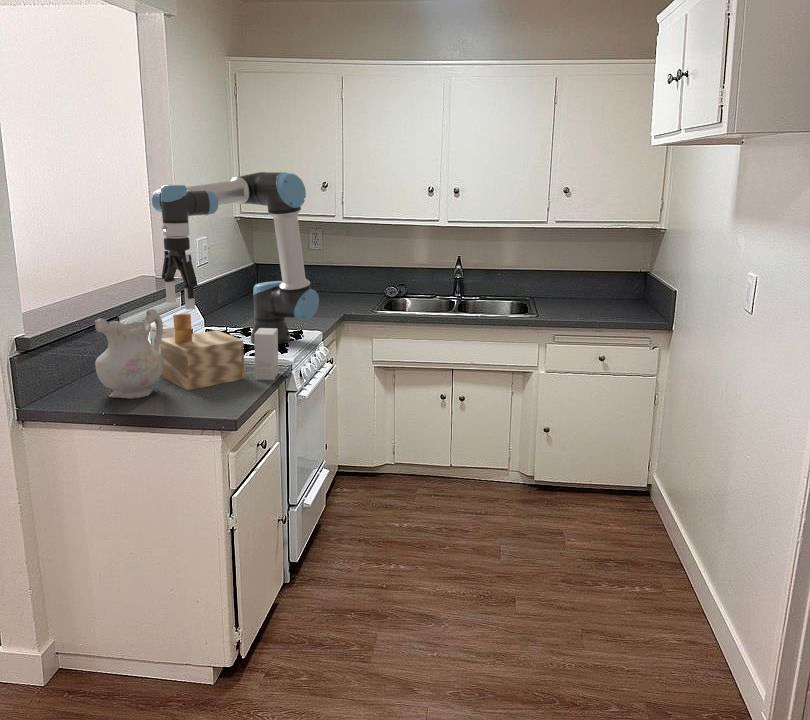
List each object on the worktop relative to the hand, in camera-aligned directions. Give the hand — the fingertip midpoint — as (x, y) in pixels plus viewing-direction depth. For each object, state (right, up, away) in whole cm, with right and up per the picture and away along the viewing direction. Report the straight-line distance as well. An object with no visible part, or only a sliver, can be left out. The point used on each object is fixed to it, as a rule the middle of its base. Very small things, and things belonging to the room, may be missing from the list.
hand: (180, 305), depth 237 cm
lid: (+5, -11, +7) cm, 14 cm away
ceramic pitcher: (-12, -27, -5) cm, 30 cm away
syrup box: (-12, -20, +21) cm, 32 cm away
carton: (+4, -23, +11) cm, 26 cm away
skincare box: (+25, -23, +13) cm, 36 cm away
